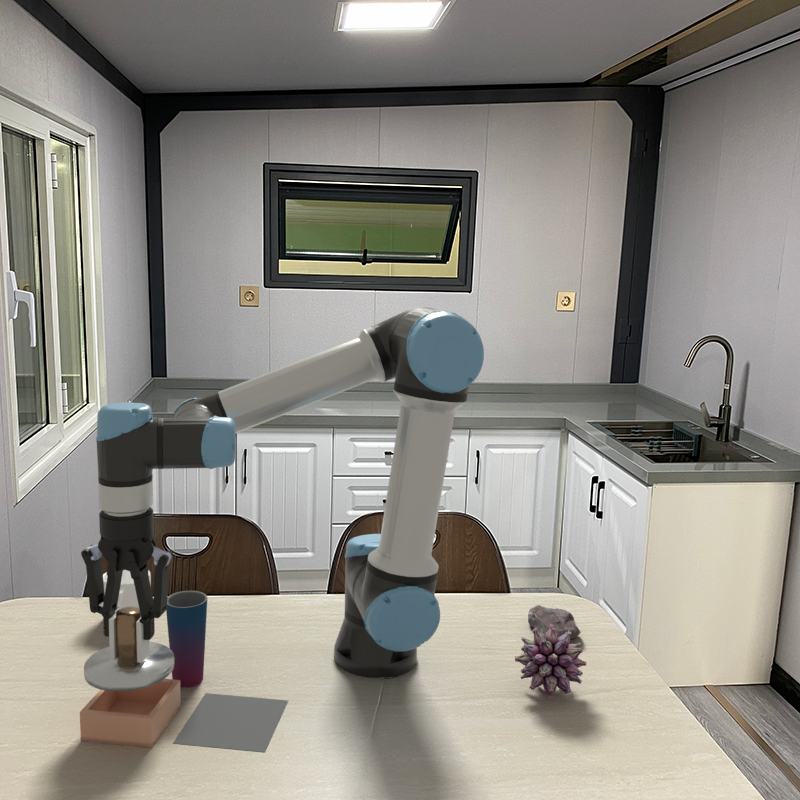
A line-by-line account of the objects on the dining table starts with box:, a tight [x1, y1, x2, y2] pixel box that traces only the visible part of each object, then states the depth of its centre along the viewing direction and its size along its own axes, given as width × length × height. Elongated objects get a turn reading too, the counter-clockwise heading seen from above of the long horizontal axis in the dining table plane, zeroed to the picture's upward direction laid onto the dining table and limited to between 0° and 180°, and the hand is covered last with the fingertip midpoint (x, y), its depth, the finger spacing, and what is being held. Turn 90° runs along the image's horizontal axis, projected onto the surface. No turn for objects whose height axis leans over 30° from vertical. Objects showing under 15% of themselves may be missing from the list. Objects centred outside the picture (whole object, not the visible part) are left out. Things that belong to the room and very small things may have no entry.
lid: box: [83, 607, 174, 692], centre depth 120 cm, size 13×13×9 cm
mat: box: [172, 692, 289, 753], centre depth 124 cm, size 14×14×1 cm
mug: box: [103, 569, 152, 613], centre depth 156 cm, size 12×9×9 cm
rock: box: [527, 604, 582, 640], centre depth 158 cm, size 8×11×5 cm
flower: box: [514, 624, 587, 700], centre depth 134 cm, size 12×12×12 cm
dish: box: [79, 678, 182, 749], centre depth 122 cm, size 11×11×5 cm
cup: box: [165, 590, 208, 688], centre depth 134 cm, size 7×7×15 cm
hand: (129, 656), depth 121 cm, fingers closed on lid, 4 cm apart
